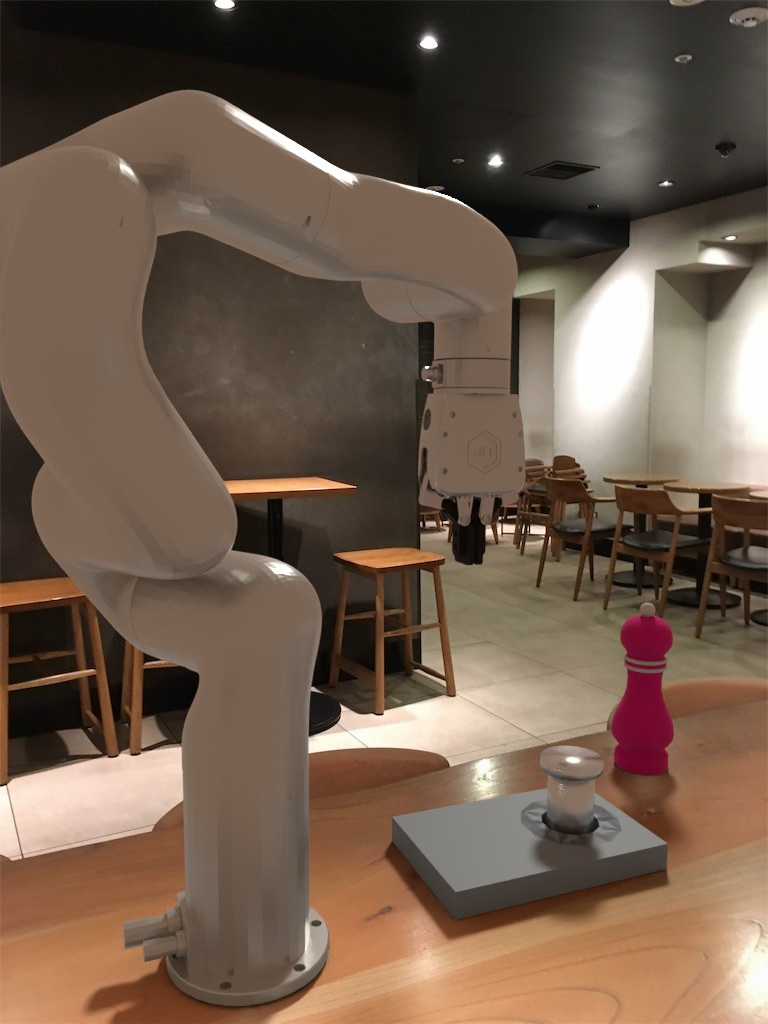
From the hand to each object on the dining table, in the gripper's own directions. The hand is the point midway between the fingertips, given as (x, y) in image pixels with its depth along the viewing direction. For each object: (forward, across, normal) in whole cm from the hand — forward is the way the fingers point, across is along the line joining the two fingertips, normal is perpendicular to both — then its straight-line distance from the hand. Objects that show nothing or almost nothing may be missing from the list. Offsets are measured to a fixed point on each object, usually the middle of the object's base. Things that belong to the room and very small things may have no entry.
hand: (468, 562), depth 85 cm
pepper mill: (+27, +26, +4) cm, 38 cm away
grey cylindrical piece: (+27, +7, -9) cm, 29 cm away
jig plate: (+27, +2, -9) cm, 29 cm away
